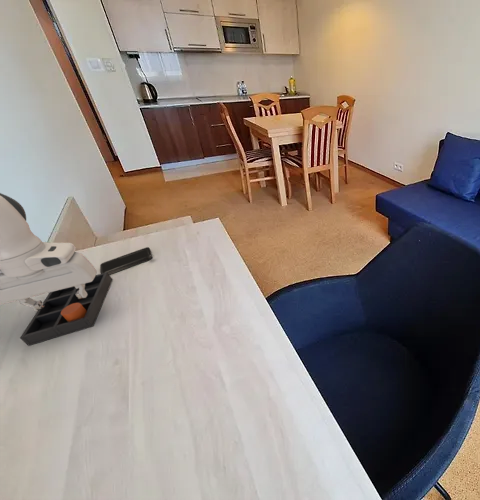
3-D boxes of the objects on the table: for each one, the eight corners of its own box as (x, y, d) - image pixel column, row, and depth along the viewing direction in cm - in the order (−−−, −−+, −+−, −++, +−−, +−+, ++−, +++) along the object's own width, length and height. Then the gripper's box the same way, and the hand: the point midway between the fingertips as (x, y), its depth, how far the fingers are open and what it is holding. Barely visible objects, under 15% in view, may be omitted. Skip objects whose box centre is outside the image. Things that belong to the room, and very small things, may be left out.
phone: (151, 256, 103) (100, 274, 97) (152, 258, 104) (102, 277, 98) (148, 246, 109) (100, 263, 102) (150, 248, 110) (102, 265, 103)
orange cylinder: (67, 327, 79) (57, 317, 77) (73, 316, 83) (64, 305, 80) (86, 321, 80) (77, 311, 78) (91, 310, 84) (83, 300, 81)
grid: (28, 345, 76) (19, 338, 74) (60, 293, 93) (53, 286, 91) (93, 326, 80) (86, 318, 78) (112, 279, 96) (107, 271, 95)
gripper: (-41, 280, 64) (6, 324, 72) (71, 254, 70) (103, 298, 78) (-23, 264, 69) (19, 307, 77) (80, 241, 75) (109, 283, 83)
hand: (62, 302), depth 78 cm, fingers open, 8 cm apart
